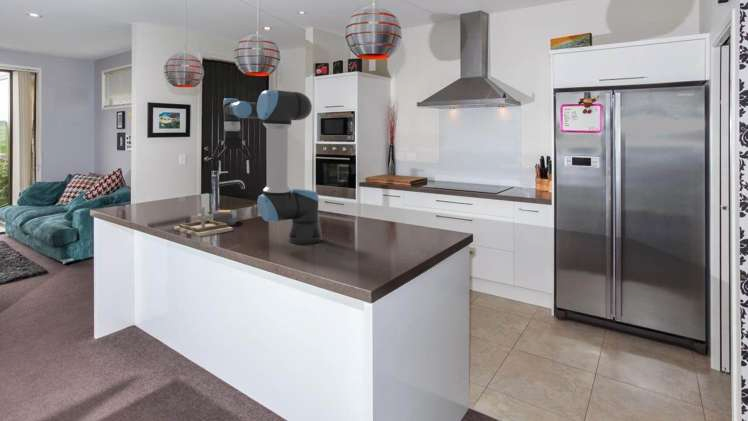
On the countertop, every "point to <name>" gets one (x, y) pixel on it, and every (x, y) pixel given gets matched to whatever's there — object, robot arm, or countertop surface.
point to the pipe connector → (202, 217)
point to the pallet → (209, 228)
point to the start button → (224, 211)
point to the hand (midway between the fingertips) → (234, 173)
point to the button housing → (226, 217)
